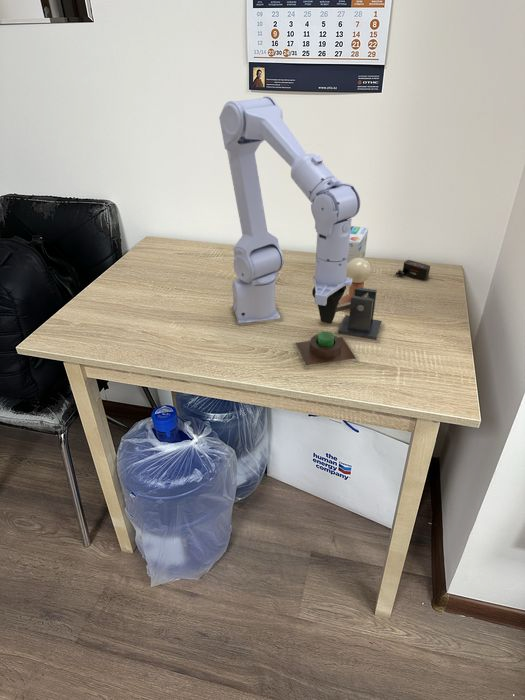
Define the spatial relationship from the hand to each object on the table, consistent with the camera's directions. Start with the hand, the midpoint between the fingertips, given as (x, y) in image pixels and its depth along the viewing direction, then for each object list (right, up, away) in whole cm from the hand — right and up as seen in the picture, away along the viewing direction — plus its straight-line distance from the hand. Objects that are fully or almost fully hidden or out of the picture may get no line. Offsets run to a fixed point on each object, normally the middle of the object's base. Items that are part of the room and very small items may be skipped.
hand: (327, 321), depth 100 cm
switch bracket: (+8, -1, +11) cm, 14 cm away
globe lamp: (+9, +4, +20) cm, 22 cm away
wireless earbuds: (+26, +13, +33) cm, 44 cm away
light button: (0, -4, +3) cm, 5 cm away
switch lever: (+5, +2, +10) cm, 12 cm away
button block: (0, -6, +4) cm, 7 cm away
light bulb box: (+10, +15, +35) cm, 39 cm away
